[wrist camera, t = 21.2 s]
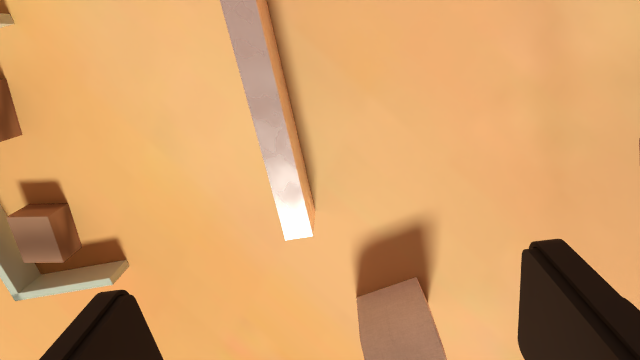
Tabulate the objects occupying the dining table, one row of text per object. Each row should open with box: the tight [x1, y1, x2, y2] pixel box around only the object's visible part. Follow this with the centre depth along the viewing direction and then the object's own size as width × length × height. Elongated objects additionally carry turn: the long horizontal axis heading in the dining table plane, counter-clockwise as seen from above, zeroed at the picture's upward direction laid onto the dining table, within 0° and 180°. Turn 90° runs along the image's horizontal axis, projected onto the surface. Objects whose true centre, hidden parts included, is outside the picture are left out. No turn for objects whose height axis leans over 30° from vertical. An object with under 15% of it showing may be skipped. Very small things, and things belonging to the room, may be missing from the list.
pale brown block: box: [356, 277, 447, 360], centre depth 35 cm, size 4×7×10 cm, turn 114°
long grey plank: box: [220, 0, 315, 240], centre depth 31 cm, size 20×2×5 cm, turn 12°
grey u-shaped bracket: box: [0, 13, 129, 301], centre depth 34 cm, size 25×11×4 cm, turn 12°
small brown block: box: [6, 203, 82, 263], centre depth 37 cm, size 5×4×3 cm
